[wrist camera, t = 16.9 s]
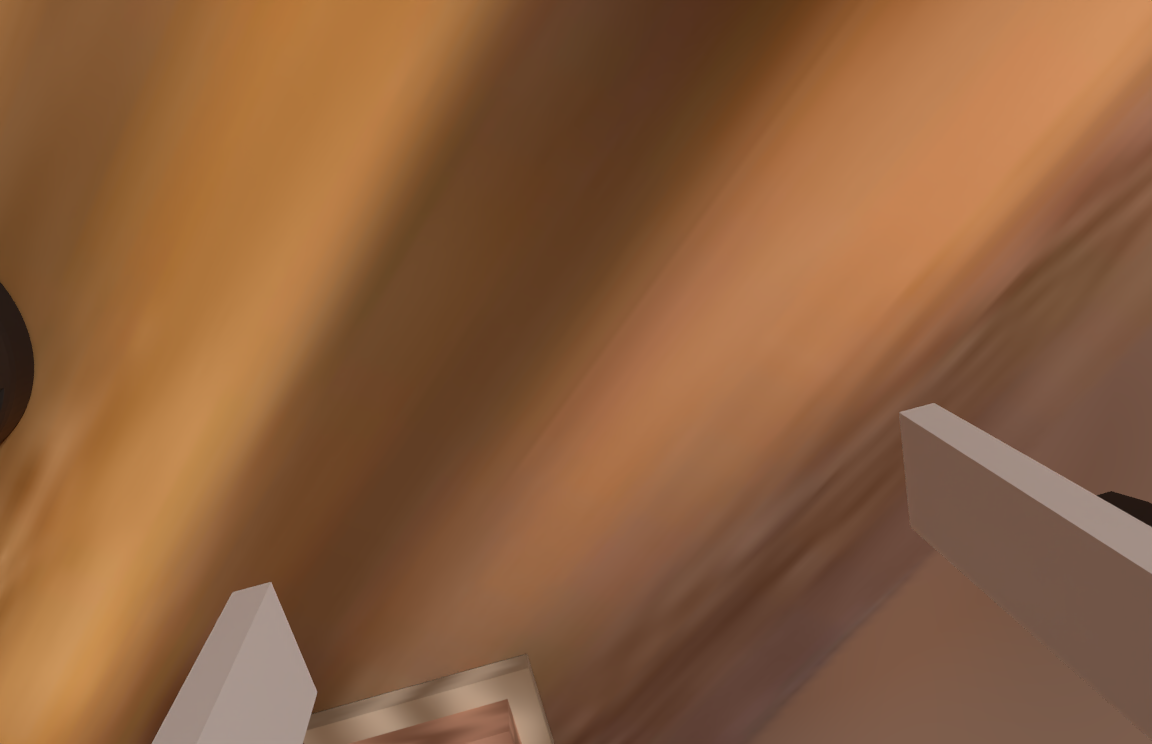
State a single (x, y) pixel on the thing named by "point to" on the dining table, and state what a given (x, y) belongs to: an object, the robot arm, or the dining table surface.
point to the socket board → (444, 711)
